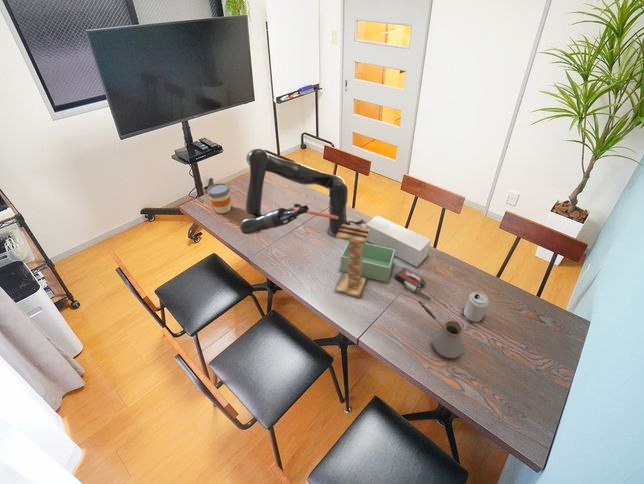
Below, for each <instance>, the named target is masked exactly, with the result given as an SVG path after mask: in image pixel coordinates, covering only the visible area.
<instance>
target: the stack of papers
mask: <svg viewBox="0 0 644 484" xmlns="http://www.w3.org/2000/svg"><path fill="white" fill-rule="evenodd" d="M365 229H370V233H369V235H368V238H367V240H366V242H367V243H369V244H372V245H377V246H381V247H386V248H390V249H395V254H394V257H396V258H399V259H401V260H402V261H404V262H406V263H408V264H410V265H412V266H414V267H416V268H418V267H419V266H420V264H422V262H423V261H424V260H425V259H426V258H427V257H428V255H429V252H430V251H429V250H430V247H431V241H432V239H430V238H427V237H425V236H423V235H421V234H419V233H417V232H415V231H412V230H411V229H408V228H406V227H404V226H402V225H400V224H398V223H395V222H393V221H391V220H389V219H387V218H385V217H383V216H380V215H378V214H377V215H376V216H374V217H373V218H372V219H371V220H370V221H368V222H367V223H366V224H365Z"/></svg>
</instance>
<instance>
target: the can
mask: <svg viewBox="0 0 644 484" xmlns="http://www.w3.org/2000/svg"><path fill="white" fill-rule="evenodd" d="M489 304H490V301H489V298H488V295H486V293H484V292H482V291H479V290H478V291H477V290H476V291H473V292H472V293H470V294H469V296H468V299H467V301H466V304H465V306H464V310H463V315H464V317H465V318H466V319H468V320H469V321H471V322H474V323H475V322H476V323H477V322H480V321H481V320H483V317H484V315H485V313H486V310H487V308H488V306H489Z"/></svg>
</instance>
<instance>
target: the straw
mask: <svg viewBox="0 0 644 484" xmlns="http://www.w3.org/2000/svg"><path fill="white" fill-rule="evenodd" d="M298 209H299V208H294V209H293V210H294V211H295V210H298ZM305 214H307V215H308V214H309V215H313V216H318V217H324V218H328V219H329V218H333V219H338V216H334V215H329V213H323V212H319V211H313V210H310V209H308V210H307V212H306V213H305Z"/></svg>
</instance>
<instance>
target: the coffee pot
mask: <svg viewBox="0 0 644 484" xmlns="http://www.w3.org/2000/svg"><path fill="white" fill-rule="evenodd" d="M418 304H419V305H420V306H421V308H423V309H424V311H425V312H426V314H428V315H429V316H430V317H431V318H432V319H433V320H434V321H435V322H436V323H437V324H438V325H439V326H440V327H441V328H442V329H439V330H438V331H437V332H435V333H434V335H433V336H432V339H431V341H432V346H433V348H434V350H435V351H436V353H437V354H438V355H440V356H442V357H444V358H446V359H456V358H458V357H460V356H461V355H462V354H463V352H464V342H463V339H462V336H461V335H462V333H463V327H462V326H461V323H460V322H458V321H456V320H446V322H444V323H442V322H441V321H440V320H439V319H437V317H436V316H435V314H433V312H431V310H430V309H429V308H428V307H427V306H425V304H423V303H422V301H421V300H419V301H417V302H416V305H418Z"/></svg>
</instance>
